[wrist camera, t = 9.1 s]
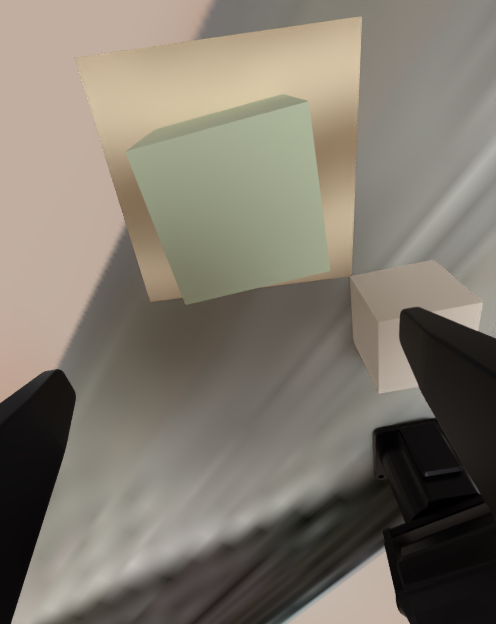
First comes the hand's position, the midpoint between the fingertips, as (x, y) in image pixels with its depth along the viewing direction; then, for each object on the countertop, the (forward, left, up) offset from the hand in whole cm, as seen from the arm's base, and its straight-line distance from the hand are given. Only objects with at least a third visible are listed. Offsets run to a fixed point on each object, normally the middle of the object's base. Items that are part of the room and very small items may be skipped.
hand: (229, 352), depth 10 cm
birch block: (+2, -1, -12) cm, 12 cm away
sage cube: (+2, -1, -8) cm, 9 cm away
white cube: (-8, -9, -12) cm, 17 cm away
